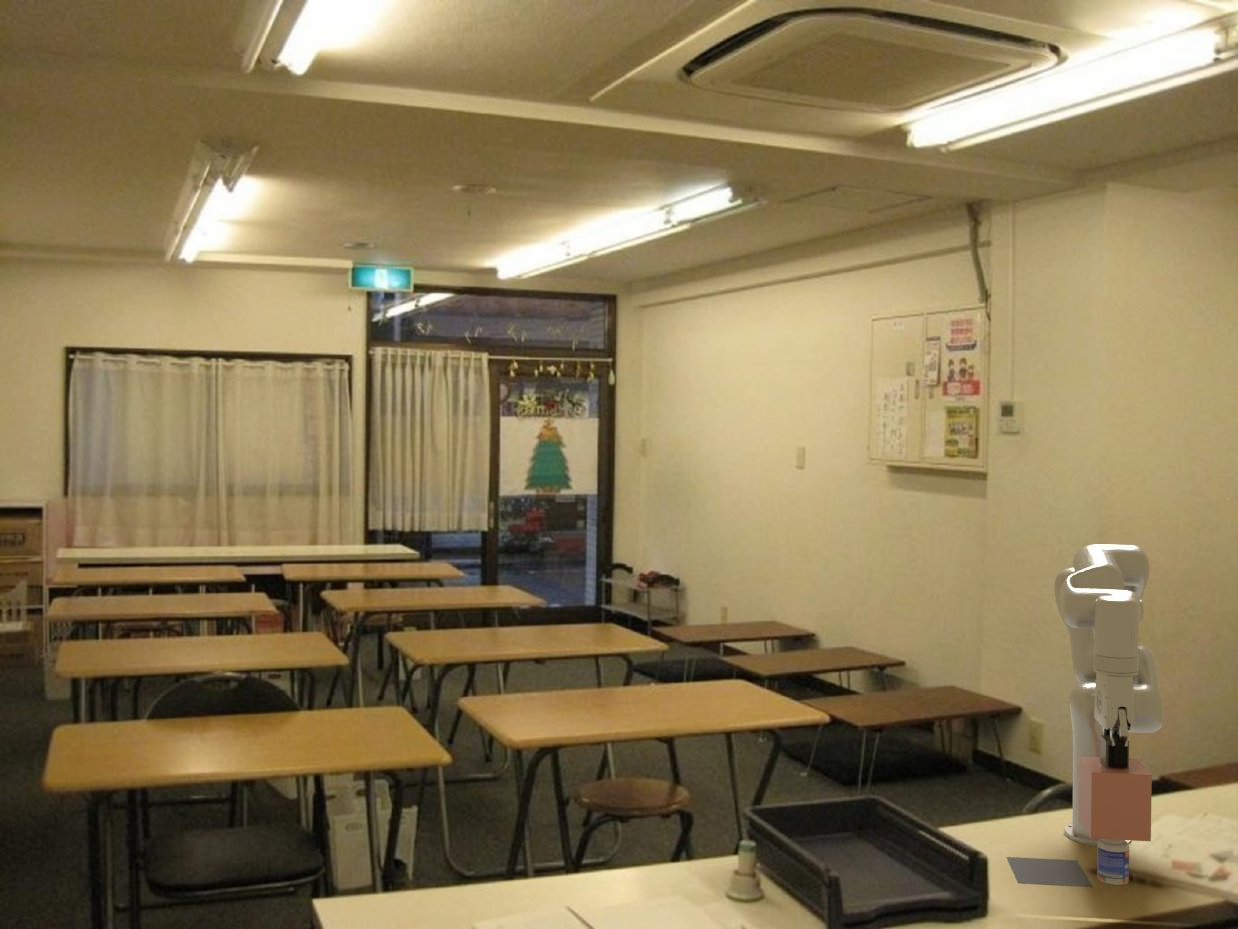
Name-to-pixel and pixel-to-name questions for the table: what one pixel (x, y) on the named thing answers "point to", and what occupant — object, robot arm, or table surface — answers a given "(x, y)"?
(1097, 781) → the cover
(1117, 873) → the pill bottle
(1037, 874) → the mat
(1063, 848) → the table surface
